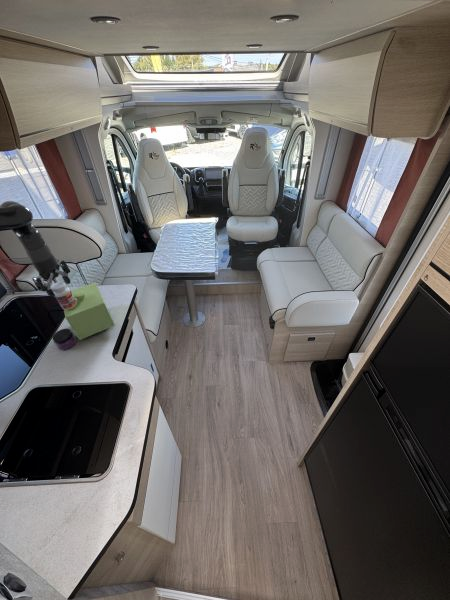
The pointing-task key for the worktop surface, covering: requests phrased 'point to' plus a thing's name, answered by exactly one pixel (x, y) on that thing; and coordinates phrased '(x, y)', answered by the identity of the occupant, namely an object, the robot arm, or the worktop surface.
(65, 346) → the jar
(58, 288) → the pill bottle
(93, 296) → the container
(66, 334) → the jar lid
